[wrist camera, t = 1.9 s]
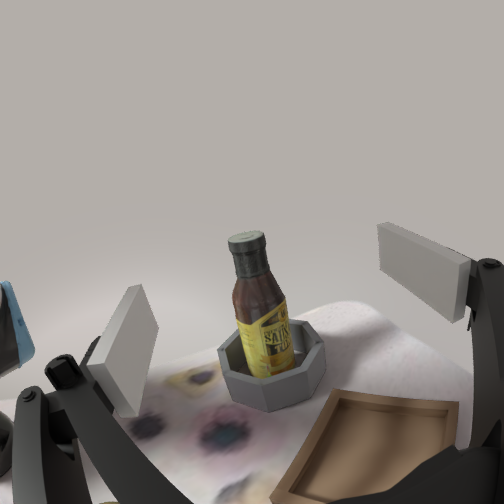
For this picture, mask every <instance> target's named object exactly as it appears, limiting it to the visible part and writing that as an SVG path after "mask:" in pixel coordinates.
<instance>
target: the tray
mask: <svg viewBox="0 0 504 504" xmlns="http://www.w3.org/2000/svg"><path fill="white" fill-rule="evenodd" d="M458 410H459V402H454V401H433V400H419V399H408V398H398V397H389V396H380V395H373V394H366V393H359V392H352V391H346V390H340V389H334V388H333V390H332V392H331V394H330V396H329V398H328V400H327V402H326V404H325V406H324V408H323V409H322V411H321V413H320V415H319V417H318V419H317V421H316V423H315V424H314V426H313V428H312V430H311V432H310V433H309V435H308V437H307V439H306V440H305V442H304V444H303V446H302V447H301V449H300V451H299V452H298V454H297V456H296V457H295V459H294V460H293V462H292V464H291V465H290V467H289V468H288V470H287V472H286V473H285V475H284V476H283V478H282V479H281V481H280V482H279V484H278V485H277V487H276V488H275V490H274V491H273V493H272V494H271V495H270V497H269V498H270V500H271V502H272V504H327V503H330V502H333V501H336V500H339V499H343V498H350V497H356V496H362V495H368V494H373V493H378V492H382V491H386V490H388V489H390V488H391V487H393V486H394V485H395V484H397V483H398V482H399V481H400V480H402V479H403V478H404V477H405V476H407V475H408V474H409V473H410V472H411V471H413V470H414V469H415V468H416V467H417V466H418V465H419V464H421V463H422V462H424V461H426V460H427V459H429V458H431V457H432V456H434V455H436V454H437V453H439V452H441V451H442V450H444V449H446V448H447V447H449V446H450V445H452V444H453V445H455V438H456V430H457V421H458Z"/></svg>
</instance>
